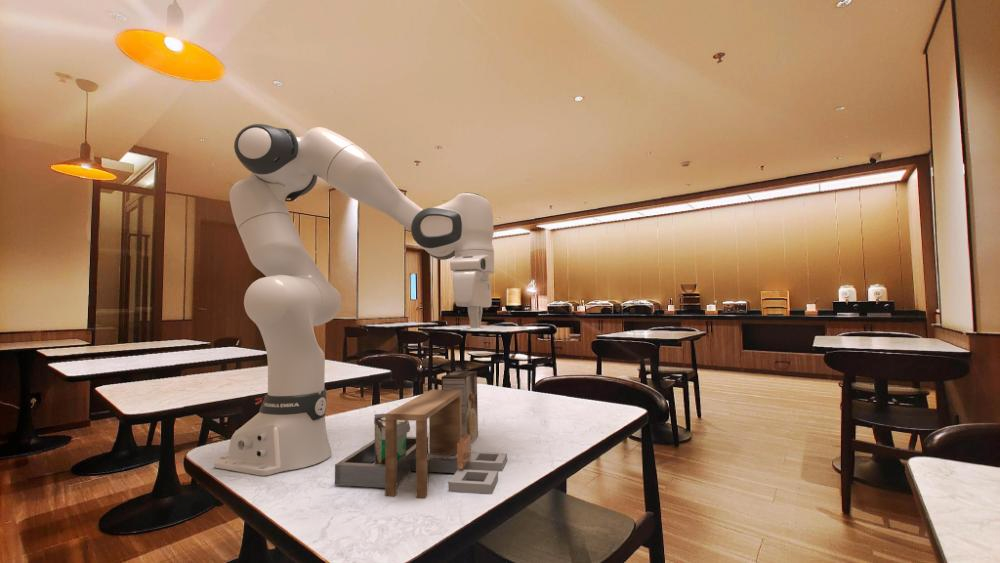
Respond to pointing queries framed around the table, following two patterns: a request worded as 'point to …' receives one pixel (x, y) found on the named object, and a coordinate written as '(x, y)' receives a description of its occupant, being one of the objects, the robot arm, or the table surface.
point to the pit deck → (478, 473)
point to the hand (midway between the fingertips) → (475, 327)
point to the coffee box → (465, 398)
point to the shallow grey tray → (373, 475)
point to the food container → (379, 422)
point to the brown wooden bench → (424, 433)
